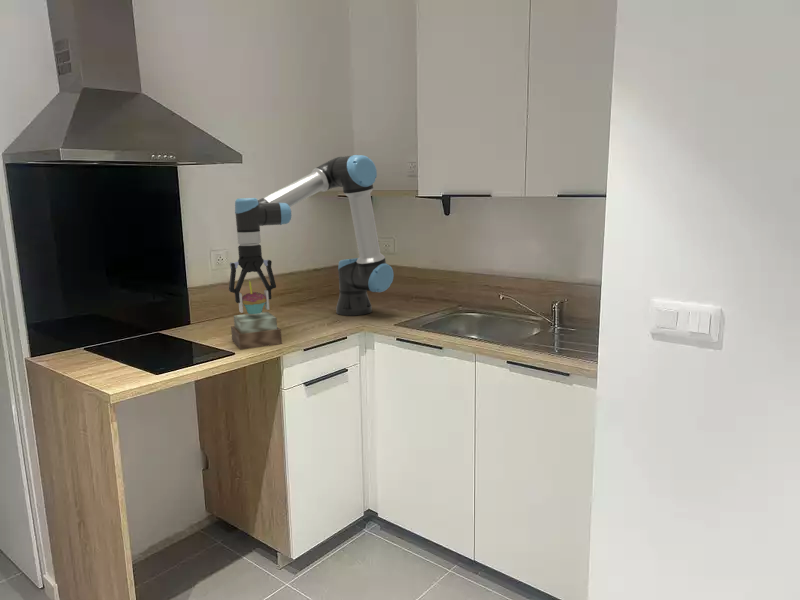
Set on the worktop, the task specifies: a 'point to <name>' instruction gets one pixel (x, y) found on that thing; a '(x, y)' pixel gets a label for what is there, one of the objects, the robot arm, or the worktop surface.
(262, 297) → the cupcake
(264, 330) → the block tower
